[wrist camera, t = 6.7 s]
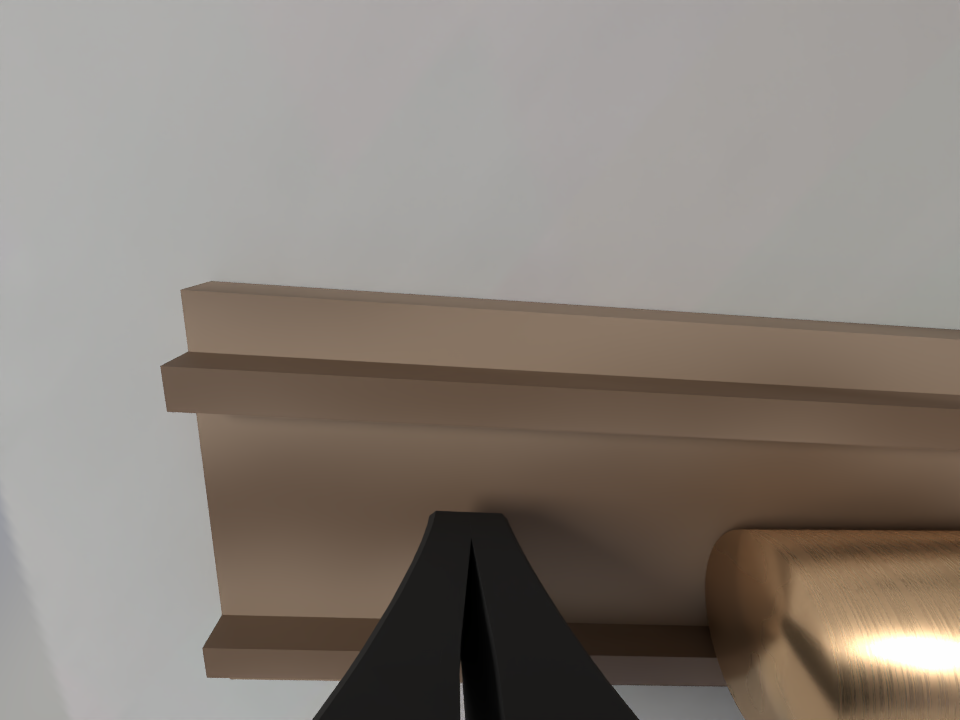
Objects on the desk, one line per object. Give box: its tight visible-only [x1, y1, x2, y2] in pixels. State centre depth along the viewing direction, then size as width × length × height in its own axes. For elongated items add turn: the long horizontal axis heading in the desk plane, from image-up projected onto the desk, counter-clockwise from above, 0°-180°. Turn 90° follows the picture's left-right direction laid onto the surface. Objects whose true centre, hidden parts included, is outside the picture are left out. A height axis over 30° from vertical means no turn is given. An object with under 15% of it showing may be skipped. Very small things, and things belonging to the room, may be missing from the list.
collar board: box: [160, 281, 960, 687], centre depth 8 cm, size 9×26×6 cm, turn 86°
